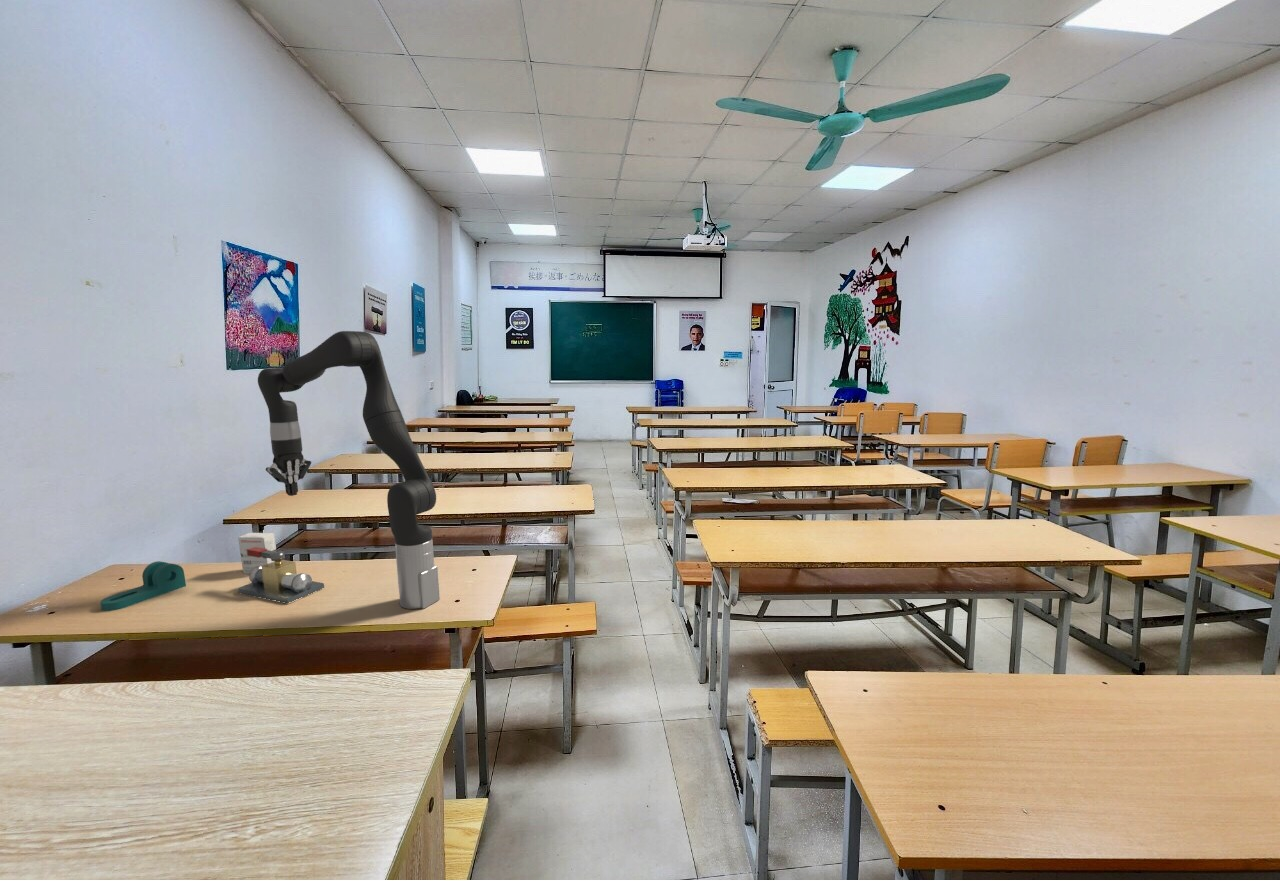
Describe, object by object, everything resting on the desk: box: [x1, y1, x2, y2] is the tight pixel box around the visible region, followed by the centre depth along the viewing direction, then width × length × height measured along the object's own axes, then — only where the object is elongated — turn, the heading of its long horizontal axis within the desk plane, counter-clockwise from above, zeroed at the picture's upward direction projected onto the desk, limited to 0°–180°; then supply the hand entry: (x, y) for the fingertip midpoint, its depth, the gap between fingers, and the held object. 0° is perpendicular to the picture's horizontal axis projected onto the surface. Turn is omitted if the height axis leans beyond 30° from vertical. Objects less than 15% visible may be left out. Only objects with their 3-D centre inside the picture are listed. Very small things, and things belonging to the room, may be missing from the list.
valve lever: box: [247, 547, 286, 561], centre depth 163 cm, size 3×13×2 cm, turn 68°
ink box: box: [238, 532, 277, 575], centre depth 176 cm, size 9×5×12 cm, turn 84°
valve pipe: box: [237, 559, 325, 604], centre depth 162 cm, size 20×11×9 cm, turn 68°
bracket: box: [100, 560, 187, 612], centre depth 159 cm, size 18×7×8 cm, turn 158°
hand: (292, 494), depth 170 cm, fingers closed
